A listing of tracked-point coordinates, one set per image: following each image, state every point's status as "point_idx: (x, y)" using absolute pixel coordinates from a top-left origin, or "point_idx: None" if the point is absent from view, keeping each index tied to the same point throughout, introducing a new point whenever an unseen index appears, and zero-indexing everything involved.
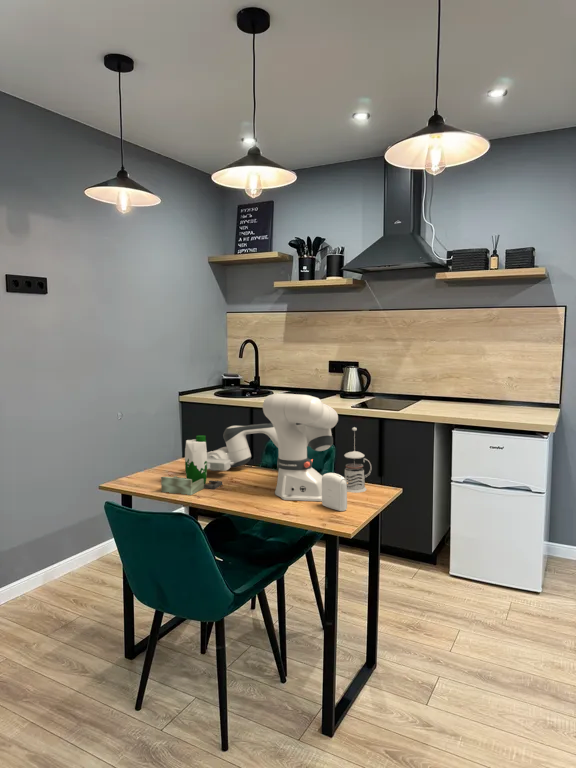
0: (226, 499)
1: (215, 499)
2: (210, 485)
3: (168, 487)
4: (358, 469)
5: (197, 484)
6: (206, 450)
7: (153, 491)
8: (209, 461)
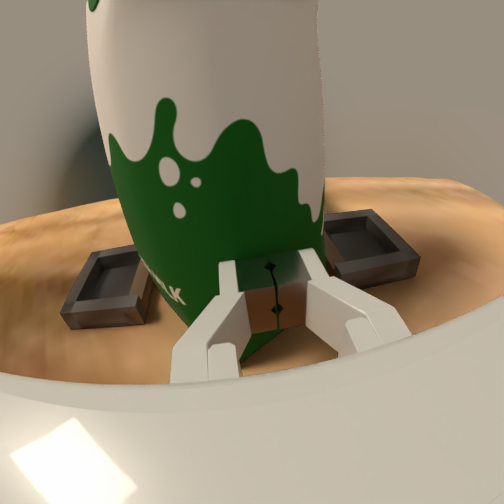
0: (58, 230)
1: (85, 219)
2: (109, 249)
3: None
4: None
5: None
6: (89, 57)
7: None
8: (189, 397)
